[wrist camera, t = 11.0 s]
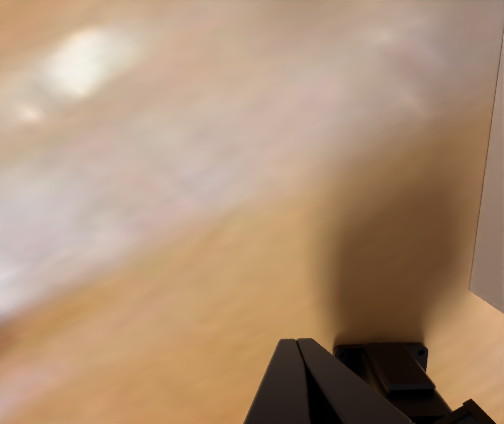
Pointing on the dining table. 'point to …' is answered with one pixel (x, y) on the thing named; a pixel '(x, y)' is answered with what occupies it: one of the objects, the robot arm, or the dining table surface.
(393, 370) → the robot arm
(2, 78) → the dining table surface
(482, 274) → the riser
